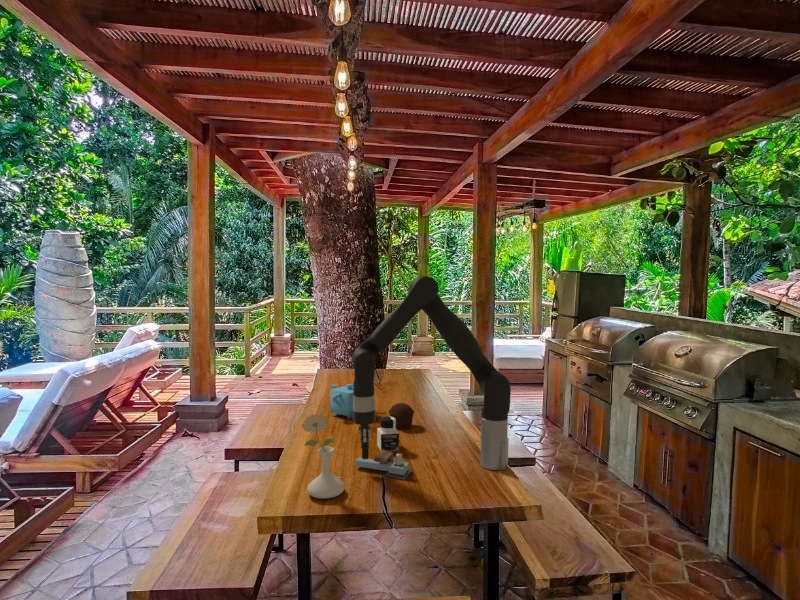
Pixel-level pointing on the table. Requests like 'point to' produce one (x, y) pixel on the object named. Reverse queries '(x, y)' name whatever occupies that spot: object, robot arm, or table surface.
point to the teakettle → (342, 400)
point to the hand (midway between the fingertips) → (365, 458)
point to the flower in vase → (326, 481)
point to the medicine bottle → (387, 434)
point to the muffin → (402, 415)
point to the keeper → (384, 457)
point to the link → (383, 466)
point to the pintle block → (399, 464)
